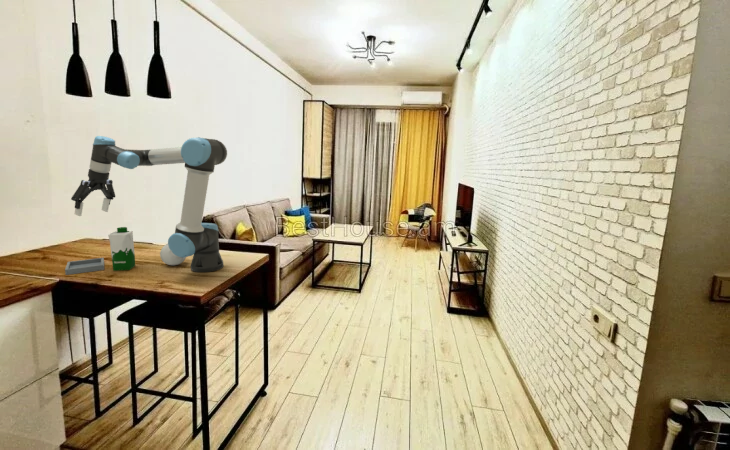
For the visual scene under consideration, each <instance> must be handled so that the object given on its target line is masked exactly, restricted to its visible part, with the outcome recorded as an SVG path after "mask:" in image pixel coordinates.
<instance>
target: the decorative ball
mask: <svg viewBox="0 0 730 450" xmlns="http://www.w3.org/2000/svg"><path fill="white" fill-rule="evenodd" d="M159 255H160V256H159V257H160V260H161V261H162V262H163V263H164V264H166V265H168V266H178V265H181V264H182V263H183V262H184V261H186V258H187V257H178V256H176V255H175V254H173V253H172V251H171V250H170V249H169V246H168V243H165V245H163V246H162V247H161V250H160V251H159Z"/></svg>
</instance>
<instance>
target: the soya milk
mask: <svg viewBox="0 0 730 450" xmlns="http://www.w3.org/2000/svg"><path fill="white" fill-rule="evenodd" d="M108 240H109V246H110V247H109V248H110V255H111V263H112V271H113V272H118V271H130V270H132V269H133V268H134V267H135V266H136V256H135V245H134V244H135V243H134V234H133V231H132V230H128V227H126V226H121V227H117V228H116V231H113V232H110V234H108Z"/></svg>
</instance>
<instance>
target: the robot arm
mask: <svg viewBox="0 0 730 450" xmlns="http://www.w3.org/2000/svg"><path fill="white" fill-rule="evenodd" d="M227 157H228V150H227V147H226V145H225V144H224V143H223V142H221V141H220V140H218V139H215V138H204V137H199V136H198V137H191V138H188V139H187V140H185V141H184V142H183V143H182V146H181V147H179V146H178V147H166V148H164V147H163V148H156V149H155V148H154V149H152V148H151V149H127V148H126V149H125V148H122V147H119V146H116V140H115V139H113V138H110V137H107V136H103V135H97V136H95V137H94V140H93V143H92V150H91V156H90V163H89V169H88V173H87V177H88V180H84V179H81V181H80V184H79V186H78V187H77V188H76V190H75V192H74V193H73V195H72V196H71V199H70V200H71V201H73V202H74V209H75V210H74V215H76V216H79V217H81V216H82V213H83V207H84V201H85V199H86V198H87V197H88V196H89V195H90V194H91V193H92V192H94V191H98V190H100V191H101V193H102V194H103V196H104V197H103V200H102V206H101V211H103V212H106V213H108V212H109V207H110V204H111V201H112V200H114V198H116V193H115V189H114V186H113V180H112V179H110V178H109V177H110V172H111V168H112V163H113V164H115V165H118V166H120V167H122V168H124V169H129V170H134V169H135V168H137V167H141V166H143V167H145V166H146V167H152V166H162V165H174V164H184V168H185V169H186V170H187V175H186V180H185V181H186V182H185V189H184V195H183V201H182V209H181V217H180V221H179V223H177V224H176V225H175V229H174V233H173V234H171V235H169V237H168V240H167V244H168V246H169V249H170V250H171V251H172V253H173V254H175V255H176V256H178V257H186V258H187V257H192V259H191V263H190V270H191V272H195V273H210V272H215V271H219V270H222V268H224V259H223V258H222V256H221V253H220V246H219V245H220V244H219V243H220V241H219V239H220V238H219V231H220V230H219V226H218V225H217V223H212V222H202V221H203V217H204V211H205V204H206V199H207V193H208V192H207V191H208V185H209V180H210V175H211V174H213V173H214V171H215V166H217V165H221V164H223V163H224V162H225V161H226V159H227Z"/></svg>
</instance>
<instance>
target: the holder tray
mask: <svg viewBox="0 0 730 450" xmlns="http://www.w3.org/2000/svg"><path fill="white" fill-rule="evenodd" d="M66 263H67V264H66V266H65V269H64V273H65V275H66V276H68V275H74V274H83V273H90V272H97V271H98V272H99V271H104V270H105V259H104V257H99V258H88V259H80V260H71V261H67V262H66Z"/></svg>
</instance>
